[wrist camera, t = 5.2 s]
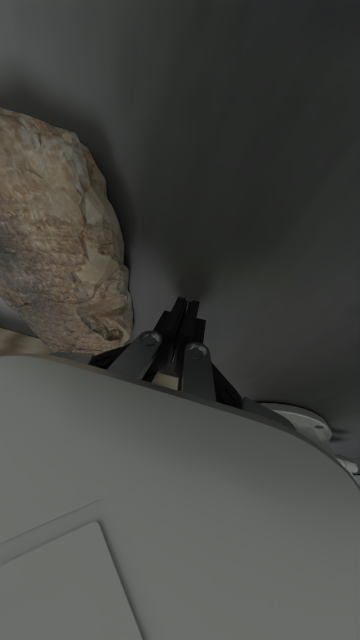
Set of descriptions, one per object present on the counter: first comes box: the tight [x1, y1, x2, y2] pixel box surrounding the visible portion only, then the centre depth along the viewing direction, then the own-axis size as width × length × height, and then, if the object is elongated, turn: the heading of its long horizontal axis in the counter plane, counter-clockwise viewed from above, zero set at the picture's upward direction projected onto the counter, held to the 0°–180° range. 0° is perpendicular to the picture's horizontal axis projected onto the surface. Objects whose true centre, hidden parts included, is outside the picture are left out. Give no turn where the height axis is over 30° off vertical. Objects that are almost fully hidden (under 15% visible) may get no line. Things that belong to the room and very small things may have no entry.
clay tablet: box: [0, 107, 133, 356], centre depth 12 cm, size 14×5×20 cm
